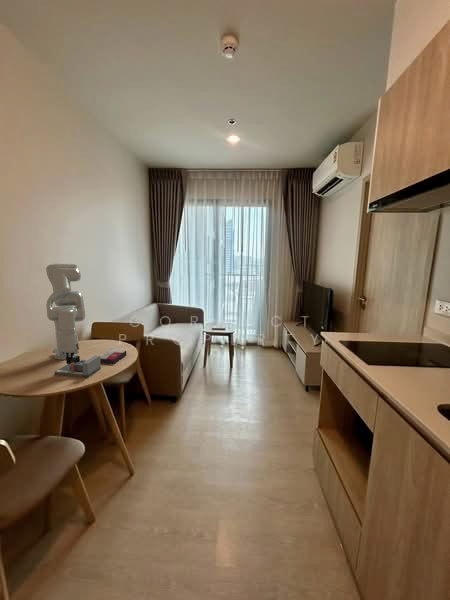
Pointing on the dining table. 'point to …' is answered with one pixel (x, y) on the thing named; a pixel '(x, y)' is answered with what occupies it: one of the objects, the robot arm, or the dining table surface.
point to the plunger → (75, 361)
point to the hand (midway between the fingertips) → (69, 362)
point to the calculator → (112, 356)
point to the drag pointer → (72, 367)
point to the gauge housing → (82, 368)
